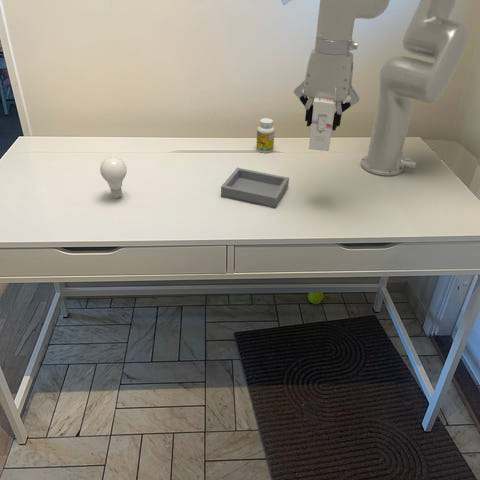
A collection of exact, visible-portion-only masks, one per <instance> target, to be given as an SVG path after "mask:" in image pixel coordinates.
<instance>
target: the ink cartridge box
mask: <svg viewBox="0 0 480 480" xmlns="http://www.w3.org/2000/svg"><path fill="white" fill-rule="evenodd" d="M335 104H336V88H335V101H334V100H330V99H324V98H314V102H313V115H312V124H311V125H310V126H311V127H310V135H309V145H308V150H314V151H322V152H329V151H330V146H331V145H330V144H331V138H332V133H333V130H332V126H333V119H334V114H335V112H336V105H335Z"/></svg>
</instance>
